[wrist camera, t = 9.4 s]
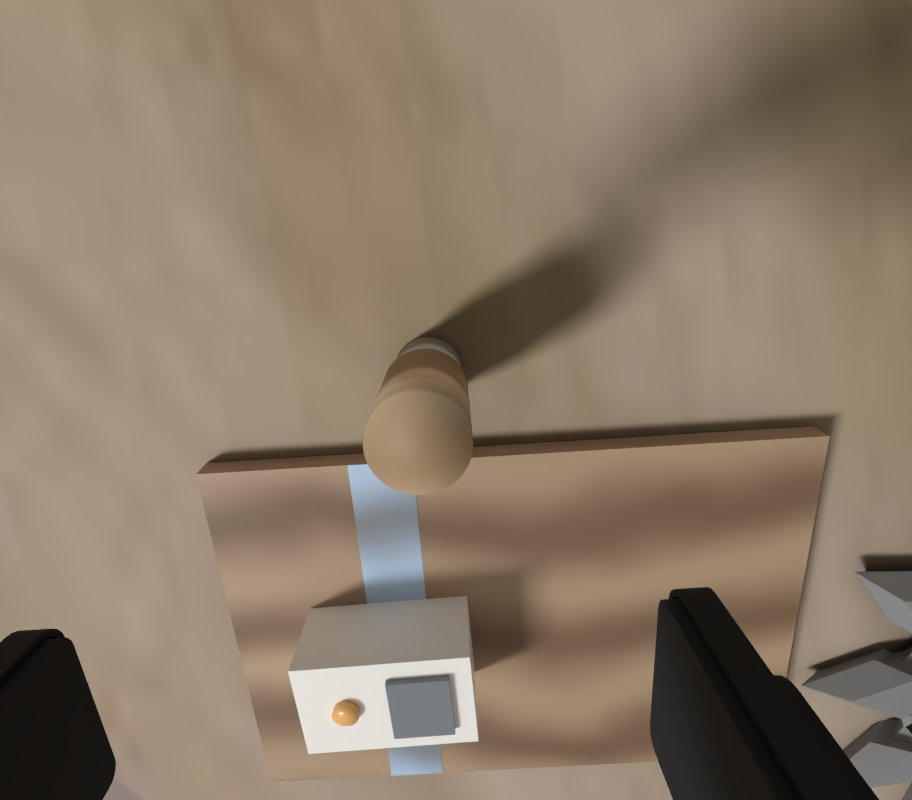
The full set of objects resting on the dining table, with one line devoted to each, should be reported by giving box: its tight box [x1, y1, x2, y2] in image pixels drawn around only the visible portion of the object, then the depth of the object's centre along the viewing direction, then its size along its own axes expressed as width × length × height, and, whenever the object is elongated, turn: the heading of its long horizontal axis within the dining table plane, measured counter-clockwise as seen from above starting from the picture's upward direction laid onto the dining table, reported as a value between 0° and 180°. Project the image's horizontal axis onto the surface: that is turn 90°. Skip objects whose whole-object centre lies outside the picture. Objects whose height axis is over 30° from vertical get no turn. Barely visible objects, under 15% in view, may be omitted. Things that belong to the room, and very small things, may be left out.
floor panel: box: [196, 426, 830, 782], centre depth 29 cm, size 20×29×1 cm
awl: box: [363, 336, 473, 495], centre depth 21 cm, size 3×3×8 cm
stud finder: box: [288, 596, 478, 754], centre depth 27 cm, size 5×8×4 cm, turn 95°
